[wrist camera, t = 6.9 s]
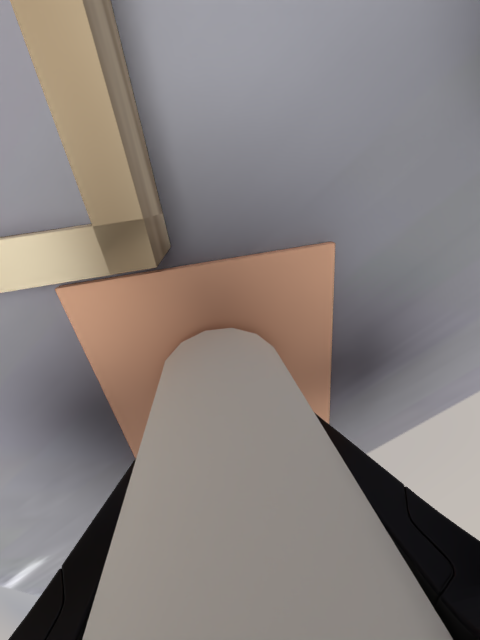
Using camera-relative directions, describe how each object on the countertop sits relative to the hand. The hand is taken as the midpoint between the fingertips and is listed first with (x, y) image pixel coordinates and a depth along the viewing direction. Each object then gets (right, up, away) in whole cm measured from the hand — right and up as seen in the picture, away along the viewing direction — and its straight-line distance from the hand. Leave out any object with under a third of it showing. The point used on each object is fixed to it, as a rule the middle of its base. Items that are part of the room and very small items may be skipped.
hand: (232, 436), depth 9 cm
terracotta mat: (-1, +2, +4) cm, 4 cm away
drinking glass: (-1, +1, +3) cm, 3 cm away
